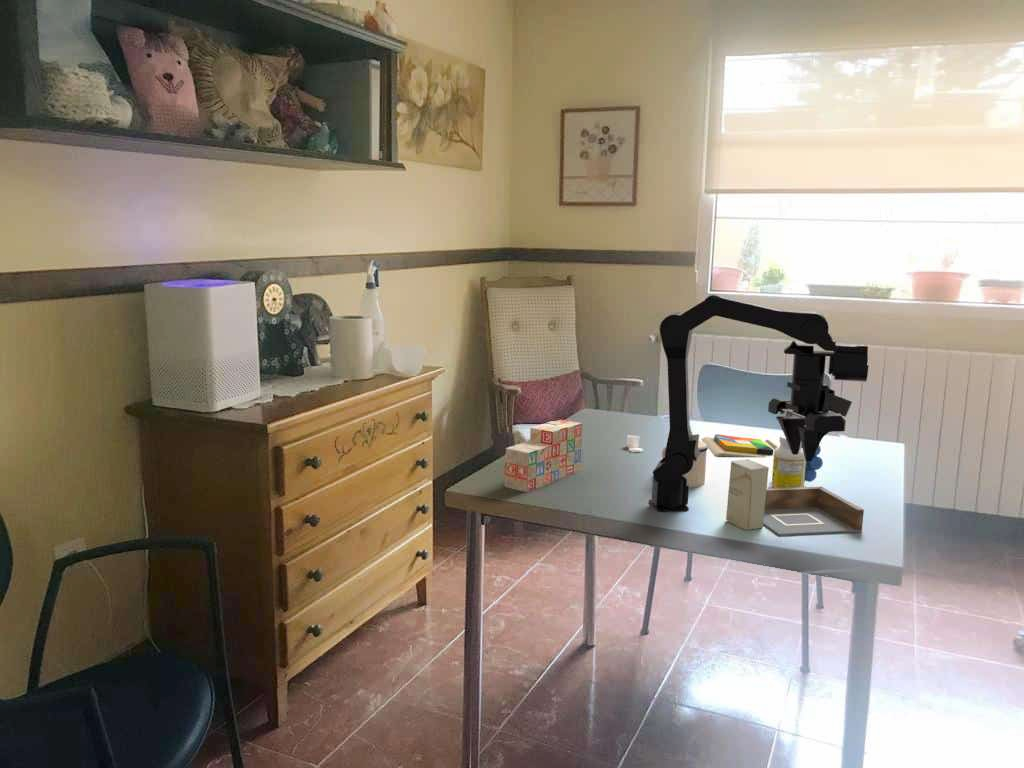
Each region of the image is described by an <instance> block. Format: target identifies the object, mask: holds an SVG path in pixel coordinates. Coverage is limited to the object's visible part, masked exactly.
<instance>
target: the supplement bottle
mask: <svg viewBox="0 0 1024 768" xmlns="http://www.w3.org/2000/svg"><path fill="white" fill-rule="evenodd" d="M801 445H802V443H800V448H799V452H798V454H797V455H793V454H792V452H791V450H790V447H789V445H788V442H787V440H786V437H785V435H784V434H781V435H780V436H779V446H778V447H777V448H776V449H775V450H774V449H773V450H774V451H773V461H772V462H773V463H772V474H771V475H772V476H771V488H797V487H805V482H804V479H805V465H806V460H805V457H804V453H803V449H802V448H801Z"/></svg>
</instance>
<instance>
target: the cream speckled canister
mask: <svg viewBox="0 0 1024 768" xmlns="http://www.w3.org/2000/svg"><path fill="white" fill-rule="evenodd" d="M698 448H699V451H700V454H699V456H698V459H697V461H695V463H694V465H693V467H692V469H691V470H690V471H689V472H688V473H686V474H684V475H682V476H684V477H685V478H686V479H687V485H688V486H689V488H697V487H701V486H704V485H705V483H706V465H707V452H708V451H707V450H709V448H708V447H707V444H706V443H704V442H703V441H702V440H699V441H698ZM665 452H666V446H664V447H663V449H662V451H661V460H662V459H663V458H664V457H665Z"/></svg>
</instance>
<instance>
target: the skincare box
mask: <svg viewBox="0 0 1024 768" xmlns="http://www.w3.org/2000/svg"><path fill="white" fill-rule="evenodd" d="M769 470H770V469H769V467H768V466H766V465H763V464H760V463H758V462H756V461H753V460H750V459H748V458H747V459H739V460H731V463H730V472H729V483H728V494H727V504H726V513H725V514H726V517H725V520H726V521H727V522H729V523H731V524H732V525H734V526H736V527H738V528H740V529H742V530H744V531H748V530H749V531H751V530H756V529H762V528H763V526H764V525H763V519H764V509H765V499H766V489H768V487H767V486H768V478H769Z"/></svg>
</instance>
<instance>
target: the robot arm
mask: <svg viewBox="0 0 1024 768" xmlns="http://www.w3.org/2000/svg"><path fill="white" fill-rule="evenodd" d="M713 317H719V318H723V319H729V320H732V321H736V322H741V323H746V324H750V325H754V326H760V327H762V328H763V327H764V328H768V329H772V330H775V331H777V332H780V333H782V334H784V335H786V336H788V337H790V338H792V339H794V340H792V341H791V343H790V344H789V345H788V346H786V347H784V349H783V352H784V353H783V354H785V355H793V361H792V362H793V363H792V372H791V373H792V375H791V376H792V377H791V380H790V381H788V380H787V383H786V386H787V387H788V388H791V390H790V397H776V398H775V397H773V398H772V399H771V400H770V401H769V402H768V408H767V409H768V410H767V411H768V413H770V414H773V415H777V416H776V417H775V419H776V420H777V421H778V424H779V425H780V427H781V430H782V432H783V435H785V437H786V440H787V442H788V445H789V447H790V450H791V452H792V454H793V455H797V454H798V452H799V448H800V443H802V448H803V453H804V457H805V460H806V461H812V459H813V457H814V455H815V453H816V450H817V448H818V446H820V445H821V444H820V443H821V441H823V438H824V436H826V435H828V434H829V433H834V432H845V431H846V423H847V420H846V419H845V417H847V416H848V413H849V410H850V408H851V405H852V403H853V401H851V400H848V399H846V398H843V397H840V396H838V395H836V394H835V392H836V391H835V390H834V389H831V388H830V386H829V385H828V384H826V383H825V372H826V371H825V370H826V361H827V359H826V357H829V358H828V368H827V369H828V371H827V374H828V375H831V376H833V380H834V381H846V382H847V381H849V382H851V381H852V382H865V383H866V382H867V380H868V375H869V367H870V366H869V363H868V360H869V359H868V358H869V357H868V356H869V355H868V353H869V352H868V351H869V350H868V349H869V347H868V345H867V344H857V345H854V344H853V345H852V344H850V345H849V344H837V341H836V339H835V338H833V337H832V336H831V334H830V333H829V323H828V321H827V318H826V317H825V316H824V315H823V314H822V313H820V312H818V311H816V310H814V311H813V310H798V309H797V310H796V309H791V310H790V309H777V308H773V307H768V306H764V305H760V304H755V303H750V302H746V301H743V300H739V299H738V300H737V299H734V298H729V297H724V296H721V294H715V293H714V294H713V293H712V294H711V295H709V296H707V297H706V298H705V299H704V300H703V301H701V302H700V303H698V304H696V305H695V306H693V307H691V308H690V309H688V310H686V311H685V312H679V311H678V312H674V313H672V314H671V313H670V314H669V315H668V316H666V317H665V318H663V319H662V321H661V322H660V324H659V334H660V340H661V343H662V344H661V345H662V348H663V350H664V354H665V358H666V362H667V384H668V385H667V388H668V389H667V390H668V412H669V413H668V416H669V418H668V419H669V432H668V436H667V440H666V446H665V447H666V452H665V457H664V458H663V459H662V458H661V459H660V460H659V461H658V462H657V464H656V465H655V468H654V469H653V471H652V474H653V475H652V486H651V487H652V488H651V499H648V503H649V504H650V505H651V506H652V507H653V508H654V509H655V510H656V511H658V512H675V511H676V512H679V511H689V506H688V504H689V489H690V487H689V486H688V485H687V479H686V478H685V477H684V476H682V475H684V474H686V473H688V472H689V471H690V470H691V469H692V467H693V465H694V463H695V461H697V459H698V456H699V454H700V451H699V448H698V441H700V439H699V438H700V434H699V433H698V434H696V433H695V434H693V432H692V429H691V425H690V396H689V395H690V394H689V393H690V391H689V364H688V362H689V361H688V360H689V359H688V358H689V352H690V347H691V345H692V343H691V342H692V335H693V329H695V328H697V327H698V326H699V327H700V325H702V324H703V323H705V322H706V321H708V320H710V319H712V318H713ZM795 340H797V341H798V342H799V341H800V342H802V343H805V344H807V345H802V344H798V343H797V342H796V341H795ZM814 345H817V347H818V346H819V348H821V349H822V350H814ZM778 413H779V415H778Z"/></svg>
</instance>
